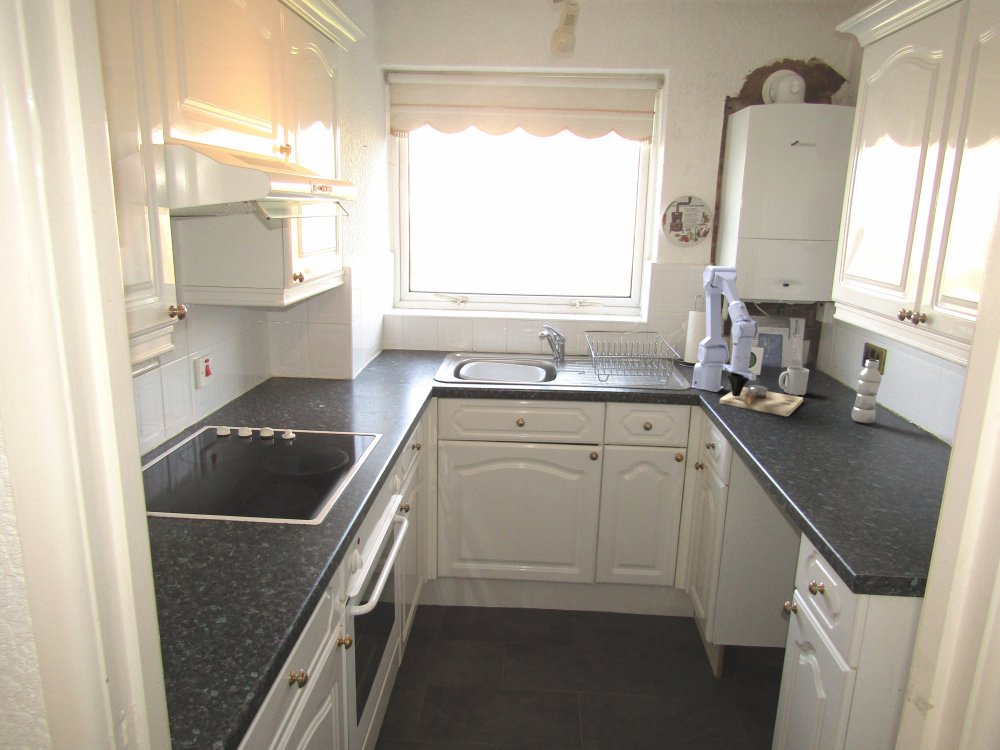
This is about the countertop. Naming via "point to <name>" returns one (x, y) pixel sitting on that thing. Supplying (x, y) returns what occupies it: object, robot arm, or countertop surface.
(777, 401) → the lock board
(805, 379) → the cup
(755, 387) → the lever
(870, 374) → the plastic bottle
